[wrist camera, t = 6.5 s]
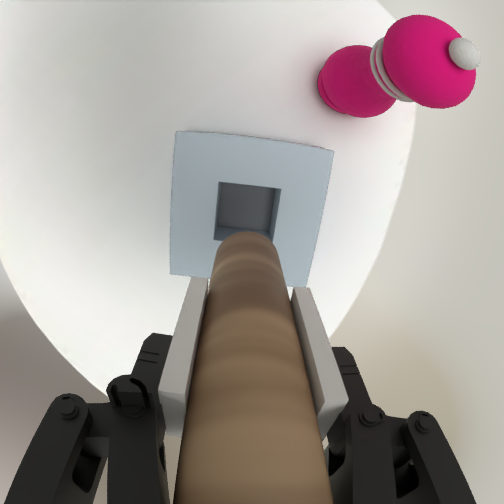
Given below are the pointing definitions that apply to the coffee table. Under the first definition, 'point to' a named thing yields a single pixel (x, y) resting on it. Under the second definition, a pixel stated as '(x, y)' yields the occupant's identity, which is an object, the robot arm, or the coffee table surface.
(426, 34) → the pepper mill
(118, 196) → the coffee table surface
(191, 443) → the dowel
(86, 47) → the coffee table surface
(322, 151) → the bore block
